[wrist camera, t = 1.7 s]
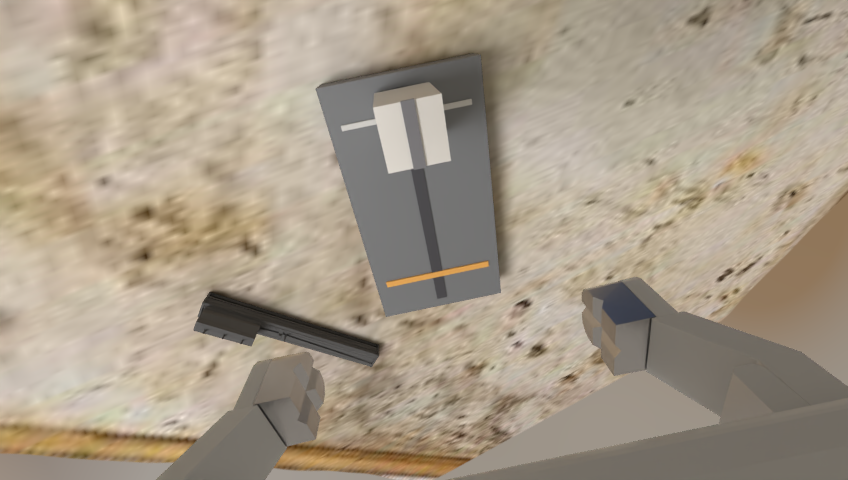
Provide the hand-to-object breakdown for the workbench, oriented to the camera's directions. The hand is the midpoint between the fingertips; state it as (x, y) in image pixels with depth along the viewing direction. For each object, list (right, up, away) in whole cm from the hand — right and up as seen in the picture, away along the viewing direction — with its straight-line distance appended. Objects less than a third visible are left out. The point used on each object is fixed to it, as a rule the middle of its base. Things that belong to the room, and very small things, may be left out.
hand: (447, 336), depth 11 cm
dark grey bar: (-14, -6, +29) cm, 33 cm away
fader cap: (-2, +12, +16) cm, 20 cm away
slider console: (-1, +7, +23) cm, 24 cm away
